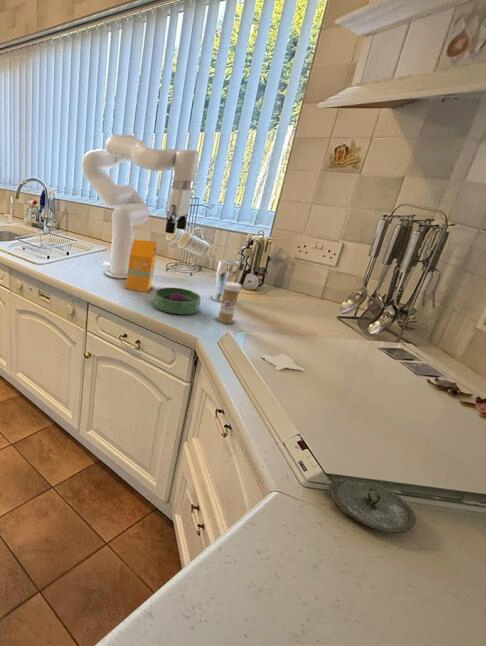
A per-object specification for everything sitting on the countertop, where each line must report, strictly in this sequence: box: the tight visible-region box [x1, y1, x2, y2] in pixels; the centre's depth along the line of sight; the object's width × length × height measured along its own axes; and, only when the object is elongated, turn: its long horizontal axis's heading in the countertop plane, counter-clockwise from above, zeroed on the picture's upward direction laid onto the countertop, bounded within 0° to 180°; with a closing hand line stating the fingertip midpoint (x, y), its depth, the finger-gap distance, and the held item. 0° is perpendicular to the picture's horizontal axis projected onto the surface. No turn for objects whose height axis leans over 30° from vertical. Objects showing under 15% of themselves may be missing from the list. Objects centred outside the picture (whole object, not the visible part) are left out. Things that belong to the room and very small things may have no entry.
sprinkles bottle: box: [217, 281, 242, 324], centre depth 131 cm, size 5×5×14 cm
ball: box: [169, 293, 184, 302], centre depth 144 cm, size 5×5×5 cm
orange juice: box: [125, 239, 157, 293], centre depth 161 cm, size 8×9×20 cm
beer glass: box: [212, 258, 240, 303], centre depth 149 cm, size 7×7×15 cm
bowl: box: [153, 287, 202, 315], centre depth 144 cm, size 15×15×5 cm
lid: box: [329, 479, 417, 534], centre depth 65 cm, size 11×10×5 cm
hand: (175, 230), depth 153 cm, fingers open, 9 cm apart
